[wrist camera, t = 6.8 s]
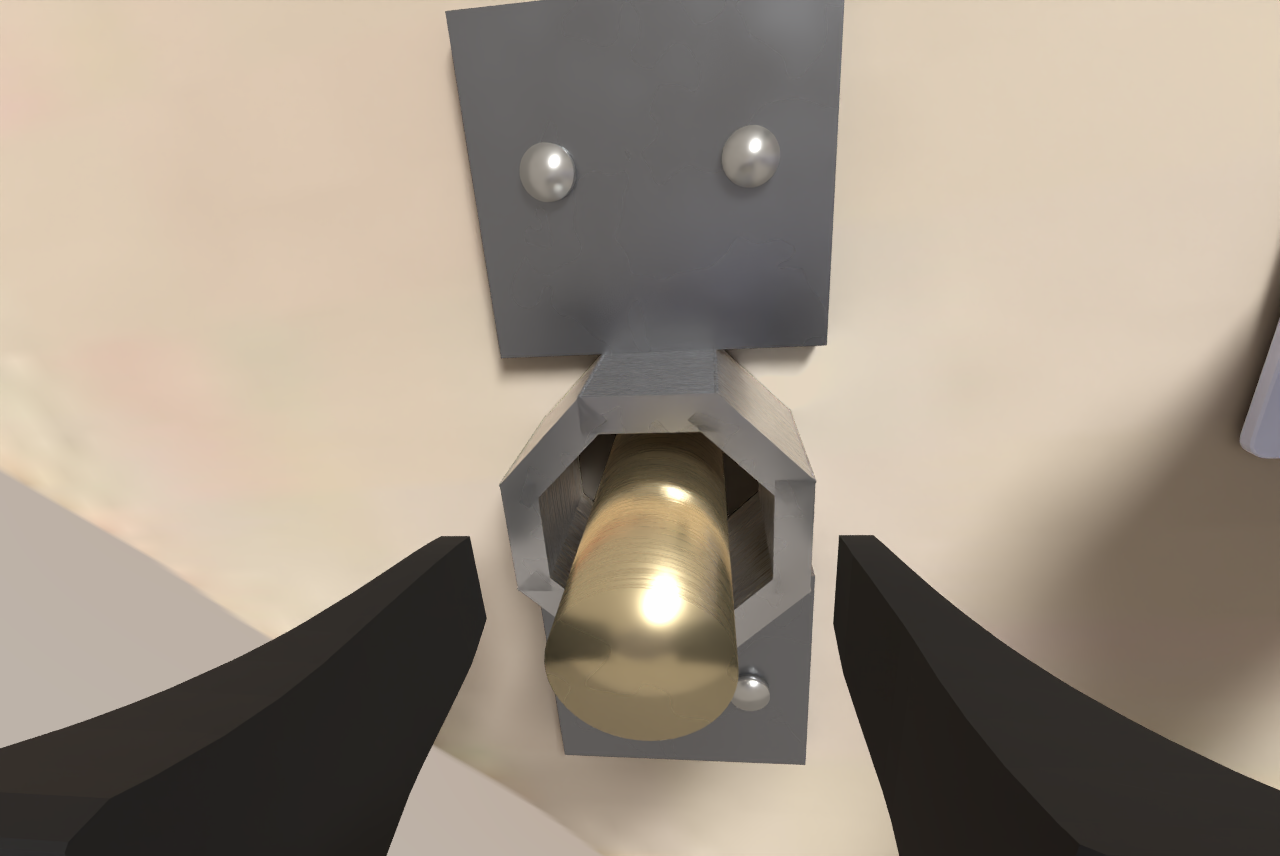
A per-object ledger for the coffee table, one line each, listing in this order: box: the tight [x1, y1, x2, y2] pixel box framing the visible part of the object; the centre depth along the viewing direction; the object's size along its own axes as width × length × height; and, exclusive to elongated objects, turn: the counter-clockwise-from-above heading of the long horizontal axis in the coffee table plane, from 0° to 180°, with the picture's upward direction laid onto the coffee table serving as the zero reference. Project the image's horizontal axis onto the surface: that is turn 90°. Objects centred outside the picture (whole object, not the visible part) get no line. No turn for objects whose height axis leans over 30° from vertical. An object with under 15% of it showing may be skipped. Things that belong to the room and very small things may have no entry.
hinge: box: [445, 0, 844, 765], centre depth 15 cm, size 21×8×4 cm, turn 4°
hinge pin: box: [544, 432, 739, 741], centre depth 13 cm, size 3×3×8 cm
